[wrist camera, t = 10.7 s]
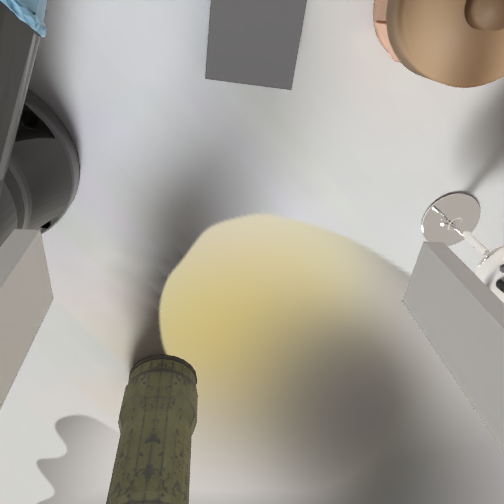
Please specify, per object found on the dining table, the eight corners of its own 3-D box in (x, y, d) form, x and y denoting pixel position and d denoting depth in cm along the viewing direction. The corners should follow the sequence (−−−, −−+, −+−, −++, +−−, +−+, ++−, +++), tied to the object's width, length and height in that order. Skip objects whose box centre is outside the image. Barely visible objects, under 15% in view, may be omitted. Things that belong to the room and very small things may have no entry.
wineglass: (442, 174, 42) (575, 272, 27) (503, 199, 44) (659, 303, 29) (399, 240, 46) (494, 359, 30) (457, 260, 48) (574, 381, 33)
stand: (205, 73, 35) (205, 78, 33) (212, -25, 32) (212, -27, 29) (285, 83, 36) (291, 89, 34) (300, -10, 33) (308, -11, 30)
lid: (369, 69, 32) (397, 81, 27) (412, -98, 27) (456, -120, 22) (488, 86, 33) (535, 100, 28) (550, -70, 28) (620, -85, 23)
